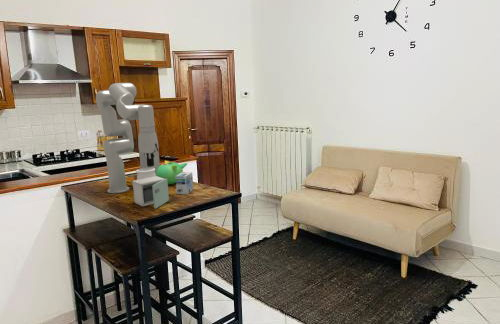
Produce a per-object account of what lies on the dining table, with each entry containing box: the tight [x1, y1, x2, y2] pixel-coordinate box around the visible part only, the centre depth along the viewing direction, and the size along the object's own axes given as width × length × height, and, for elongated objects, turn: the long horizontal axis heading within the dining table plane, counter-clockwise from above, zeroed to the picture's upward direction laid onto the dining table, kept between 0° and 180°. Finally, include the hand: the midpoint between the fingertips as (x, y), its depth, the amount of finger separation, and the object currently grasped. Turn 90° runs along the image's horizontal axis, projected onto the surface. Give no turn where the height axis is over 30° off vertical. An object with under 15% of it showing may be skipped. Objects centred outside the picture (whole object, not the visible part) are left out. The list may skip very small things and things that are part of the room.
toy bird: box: [156, 160, 188, 185], centre depth 239 cm, size 18×17×15 cm
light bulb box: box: [175, 171, 194, 195], centre depth 218 cm, size 11×7×11 cm, turn 168°
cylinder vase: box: [138, 151, 161, 175], centre depth 253 cm, size 12×12×25 cm
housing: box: [132, 176, 164, 207], centre depth 201 cm, size 10×14×12 cm
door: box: [152, 179, 170, 209], centre depth 195 cm, size 2×14×12 cm, turn 165°
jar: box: [136, 167, 156, 180], centre depth 215 cm, size 11×10×15 cm
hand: (150, 166), depth 191 cm, fingers closed
